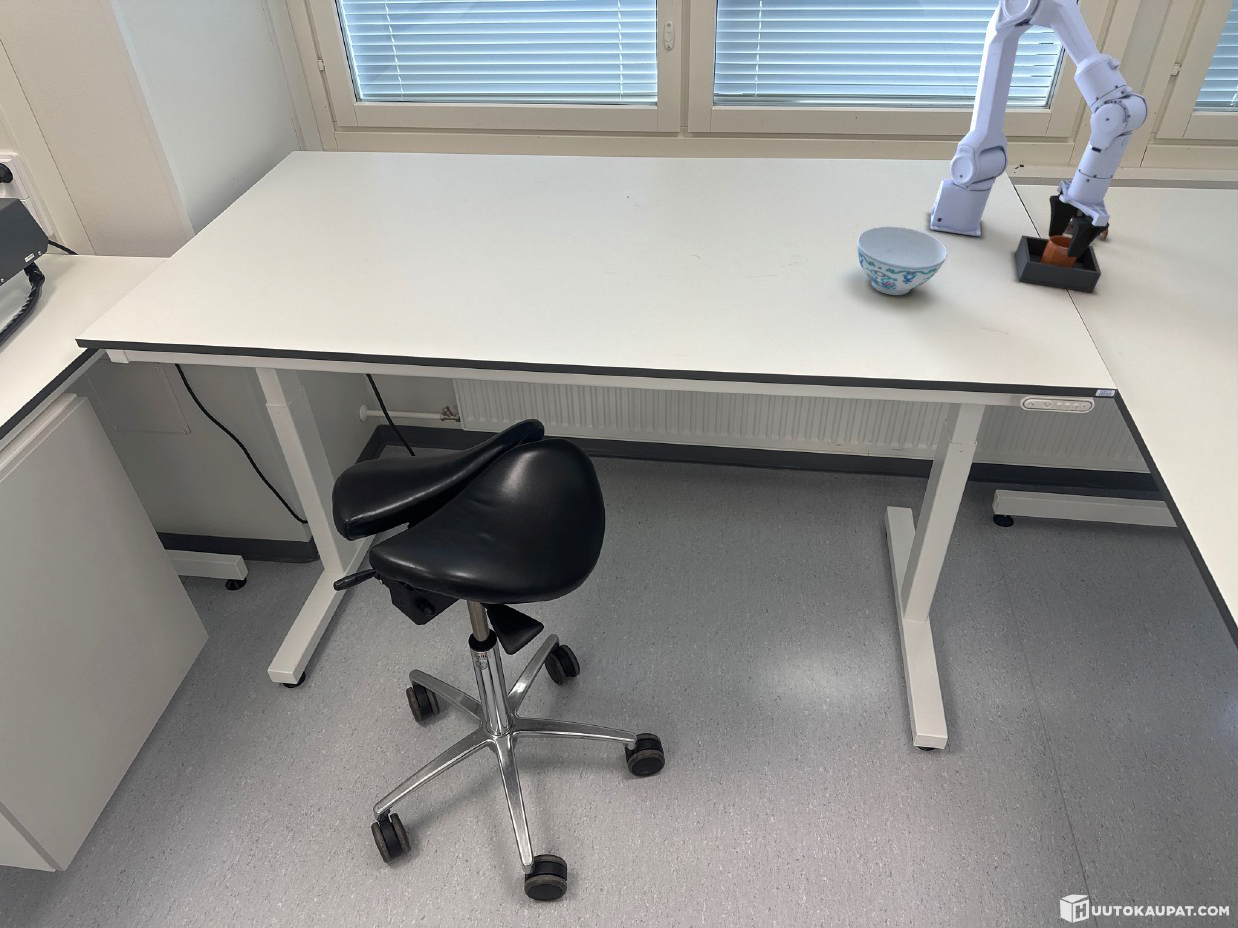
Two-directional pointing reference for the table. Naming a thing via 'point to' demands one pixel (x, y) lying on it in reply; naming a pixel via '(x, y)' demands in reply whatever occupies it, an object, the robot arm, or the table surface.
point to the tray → (1056, 267)
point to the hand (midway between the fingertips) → (1063, 246)
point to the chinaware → (899, 258)
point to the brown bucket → (1058, 252)
